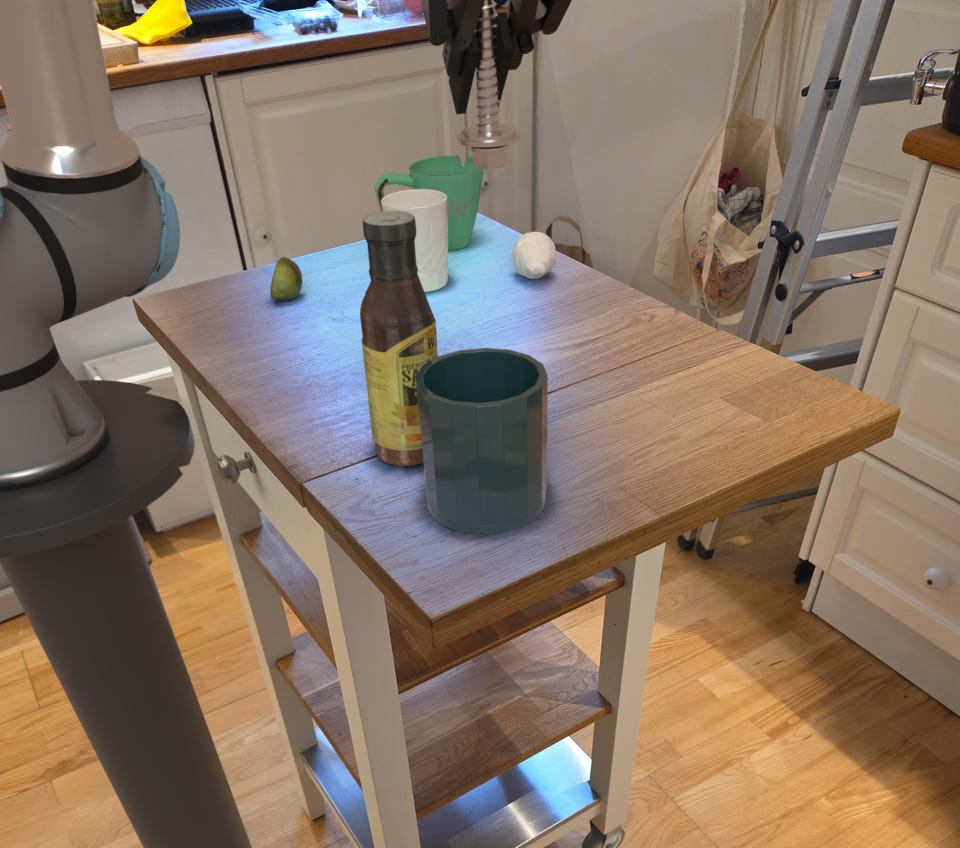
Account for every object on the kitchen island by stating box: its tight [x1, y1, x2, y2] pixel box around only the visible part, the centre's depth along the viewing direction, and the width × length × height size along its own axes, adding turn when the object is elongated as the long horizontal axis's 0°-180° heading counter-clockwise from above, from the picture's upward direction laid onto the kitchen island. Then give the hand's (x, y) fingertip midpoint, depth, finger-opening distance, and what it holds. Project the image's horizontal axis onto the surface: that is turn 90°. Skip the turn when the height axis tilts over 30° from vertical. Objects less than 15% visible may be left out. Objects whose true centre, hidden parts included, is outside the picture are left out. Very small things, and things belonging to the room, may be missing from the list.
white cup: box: [381, 188, 449, 293], centre depth 108 cm, size 8×8×10 cm
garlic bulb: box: [511, 231, 557, 280], centre depth 108 cm, size 6×6×5 cm
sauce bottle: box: [359, 211, 439, 467], centre depth 73 cm, size 6×6×20 cm
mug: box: [373, 154, 485, 251], centre depth 118 cm, size 15×10×10 cm
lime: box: [269, 256, 303, 302], centre depth 107 cm, size 4×5×5 cm
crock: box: [415, 347, 549, 535], centre depth 69 cm, size 10×10×11 cm
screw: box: [456, 0, 522, 171], centre depth 64 cm, size 13×5×5 cm
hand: (473, 95), depth 68 cm, fingers closed on screw, 2 cm apart
